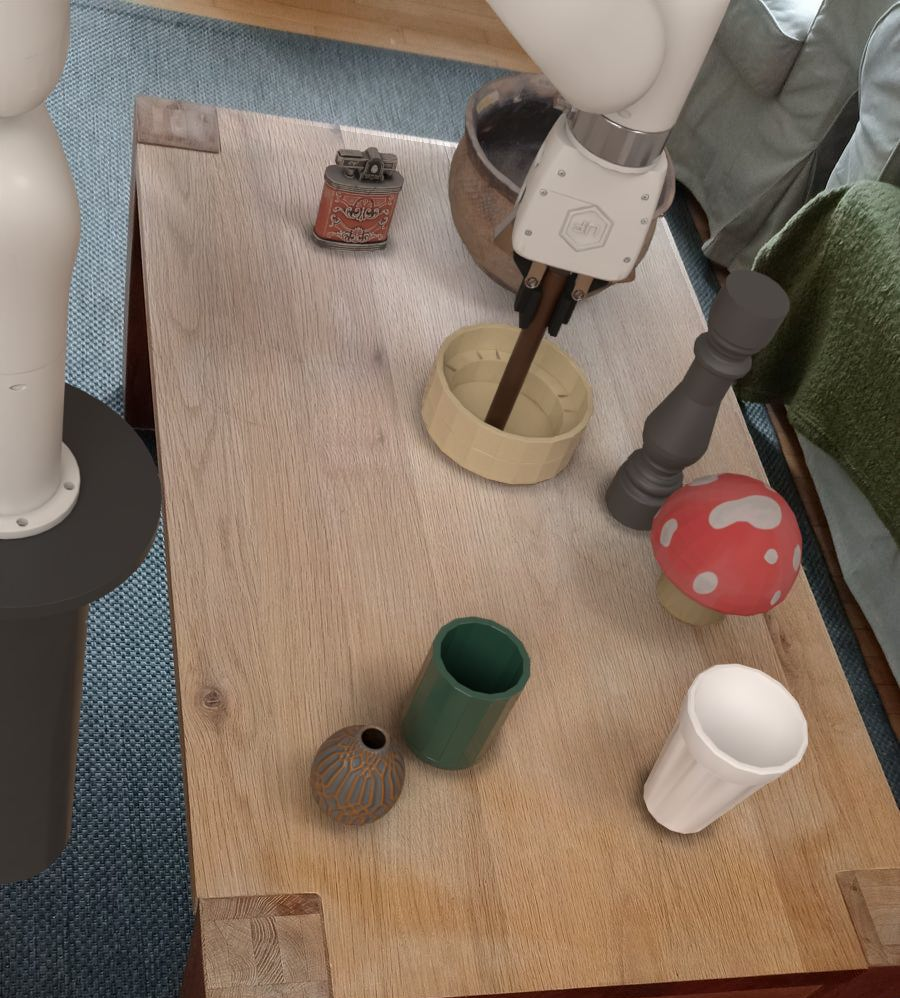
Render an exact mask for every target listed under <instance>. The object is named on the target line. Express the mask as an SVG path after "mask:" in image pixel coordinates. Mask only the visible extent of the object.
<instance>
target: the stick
mask: <svg viewBox="0 0 900 998" xmlns="http://www.w3.org/2000/svg"><path fill="white" fill-rule="evenodd" d="M570 273H571V272H570V271H566V270H563V269H559V268H555V267H552V266H548V265H547V267H546V270H545V272H544V275H543V277H542V283H541V285H542V295H541V298H540V300H539V302H538V305H537V307H536V310H535V312H534V315H533V317H532V319H531V322H530V324H529V327H528V328H526V329H521V331H520V334H519V336H518V339H517V341H516V344H515V346H514V349H513V351H512V354H511V356H510V359H509V361H508V363H507V366H506V368H505V371H504V373H503V376H502V378H501V381H500V383H499V386H498V388H497V391H496V393H495V395H494V398H493V400H492V403H491V405H490V408H489V410H488V413H487V415H486V418H485V420H484V422H485V423H487V424H489V425H491V426H493V427H495V428H497V429H499V430H501V431H504V428H505V426H506V423H507V421H508V419H509V416H510V414H511V412H512V409H513V407H514V405H515V402H516V400H517V398H518V395H519V393H520V391H521V388H522V386H523V384H524V381H525V379H526V376H527V374H528V372H529V369H530V367H531V365H532V362H533V360H534V358H535V355H536V353H537V351H538V348H539V346H540V344H541V341H542V339H543V337H544V338H545V335H546V331H547V330H548V325H549V322H550V320H551V318H552V315H553V313H554V311H555V308H556V306H557V304H558V301H559V299H560V297H561V294H562V292H563V290H564V287H565V285H566V282H567V280H568V278H569V275H570Z"/></svg>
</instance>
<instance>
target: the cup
mask: <svg viewBox="0 0 900 998" xmlns="http://www.w3.org/2000/svg"><path fill="white" fill-rule="evenodd" d="M808 729H809V728H808V722H807V720H806V717H805V715H804V713H803V711H802V708H801V706H800V704H799V702H798V701H797V700H796V698H795V697H794V696H793V695H792V694H791V693H790V692H789V690H788V689H787V688H786V687H785V686H784V685H783V684H782V683H781V682H779V681H778V680H776V679H775V678H773V677H771V676H770V675H769V674H767V673H765V672H763V670H760V669H757V668H754V667H750V666H748V665H743V664H740V663H724V664H713V665H712V666H710V667H708V668H706V669H705V670H703V671H701V672H699V673H697V675H696V676H695V678H694V679H693V682H692V683H691V685H690V687H689V688H688V690H687V692H686V693H685V696H684V698H683V700H682V701H681V703H680V710H679V714H678V716H677V718H676V721H675V722H674V724H673V726H672V728H671V730H670V733H669V734H668V736H667V738H666V740H665V742H664V745H663V746H662V748H661V751H660V752H659V755H658V756H657V758H656V760H655V763H654V765H653V767H652V769H651V771H650V773H649V775H648V777H647V779H646V781H645V783H644V784H643V797H642V798H643V800H644V803H645V805H646V808H647V811H648V812H649V814H650V815H651V817H653V818H654V819H655V821H656V822H657V823H658V824H660V825H662V826H663V827H665V828H666V829H668V830H669V831H672V832H675V833H679V834H683V835H686V834H687V835H688V834H696V833H699V832H700V831H702V830H705V828H707V827H708V826H710V825H711V824H713V823H714V822H715V821H716V820H718V819H720V818H721V817H723V816H724V815H725V814H727V813H728V812H729V811H732V809H733V808H735V807H737V806H738V805H739V804H741V803H743V802H744V801H745V800H746V799H748V798H750V797H751V796H752V795H754V794H755V793H756V792H758V791H759V790H761V789H763V787H765V786H766V785H768V784H769V783H772V782H774V781H776V780H777V779H778V778H780V777H782V776H783V775H785V774H786V773H788V772H789V771H791V770H792V769H793V768H794V767H796V766H797V765H798V764H800V762H801V761H802V758H803V756H804V755H805V752H806V750H807V748H808V746H809V730H808Z"/></svg>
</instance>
